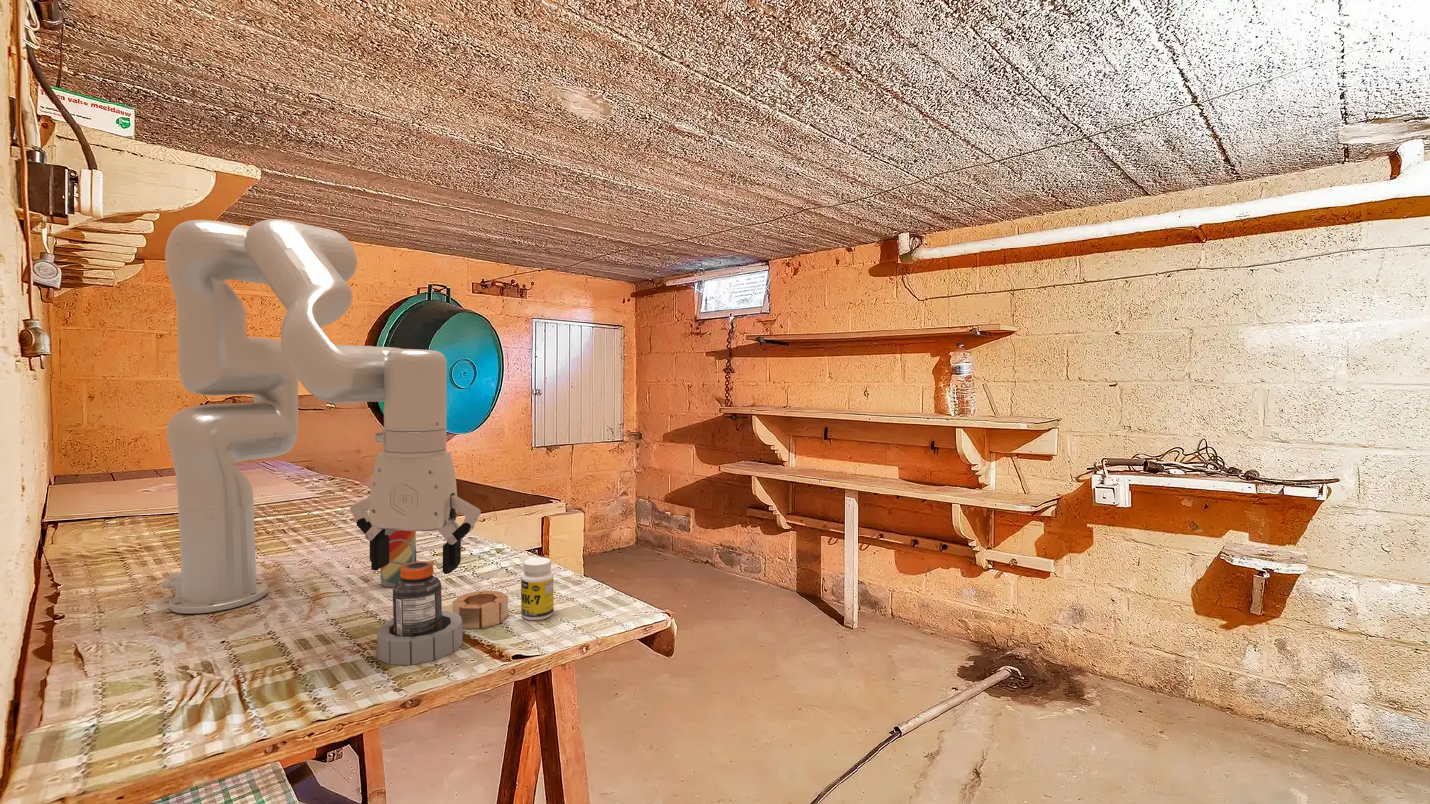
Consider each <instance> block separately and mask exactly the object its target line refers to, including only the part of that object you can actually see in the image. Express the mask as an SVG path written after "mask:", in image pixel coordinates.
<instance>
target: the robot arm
mask: <svg viewBox="0 0 1430 804" xmlns="http://www.w3.org/2000/svg"><path fill="white" fill-rule="evenodd" d="M357 258H358V257H357V252H356V250H355V248H354V246H353V244H352V243H351V241H350V240H348V238H347V237H345V236H344V234H342V233H340V232H338V231H336V230H333V229H330V228H324V227H320V226H316V225H310V224H308V223H307V224H306V223H302V222H297V221H294V220H293V221H292V220H287V219H280V218H279V219H278V218H272V219H271V218H270V219H269V218H268V219H263V220H260V221H258V222H256V223H254V224H252V225H251V226H246V225H242V224H237V223H233V222H232V223H231V222H226V221H218V220H211V219H192V220H186V221H183V222H181V223H179V224H177V225H176V226H175V227H174V228H173V229H172V230H171V232H170V234H169V236H168V238H167V242H166V245H165V251H164V261H165V268H166V273H167V275H168V279H169V282H170V285H171V288H172V291H173V294H174V295H173V296H174V299H175V302H176V310H177V316H176V317H177V321H176V322H177V356H178V357H177V359H178V360H177V361H178V365H177V366H178V374H179V379H180V383H181V384H182V386H183V388H184V389H185V390H186V391H187V392H189V393H192V394H195V395H201V396H212V397H213V396H214V397H215V396H216V397H217V396H249V395H250V396H252V398H253V402H245V403H244V402H243V403H241V402H240V403H239V402H237V403H236V402H233V403H213V404H200V405H195V406H190V407H186V408H185V409H181V410H179V411H178V412H177V413H175V414H174V415H172V417H171V418H170V419H169V421H168V422H167V426H166V433H165V434H166V440H167V445H168V448H169V452H170V456H171V459H172V463H173V469H174V474H175V482H176V491H177V492H176V493H177V511H178V512H177V513H178V531H179V535H178V536H179V554H180V555H179V556H180V558H179V559H180V572H172V573H169V574H168V576H167V579H164V580H163V581H162V582H161V585H160V586H161V589H174V590H175V594H174V595H175V596H173V597H172V598H171V599H170V600H169V602H168V607H169V610H170V611H171V612H173V613H177V614H183V615H184V614H185V615H187V614H189V615H191V614H192V615H193V614H195V615H196V614H205V613H215V612H219V611H220V612H221V611H225V610H230V609H234V608H238V607H242V606H245V605H249V604H251V603H253V602H255V601H259V600H260V599H262V598H263V597H264V596H266V595H267V594H268V592H269V588H268V587H269V586H268V585H269V584H268V583H266V582H264V581H260V580H257V566H256V564H257V563H256V537H255V536H256V535H255V531H256V530H255V509H254V506H255V505H254V503H255V501H254V492H253V491H254V490H253V487H252V484H251V482H250V480H249V479H248V477H247V476H246V475H245V474H244V473H243V472H242V471H241V470H240V469H239V467H238V466H237V463H240V462H244V461H251V460H252V461H253V460H259V459H260V460H261V459H269V458H275V457H276V458H277V457H280V456H283V455H285V454H287V453H289V452H290V451H291V450H292V449H293V448H294V446H295V445H296V442H297V439H298V434H299V382H300V384H301V385H302V386H303V387H304V388H305V390H306V391H307V392H308V393H310V394H311V395H312V396H314V397H315V398H316V399H318V400H320V401H323V402H325V403H330V404H344V403H345V404H347V403H349V404H350V403H367V402H368V403H369V402H373V403H376V402H383V429H382V431H381V432H376V434H375V435H374V440H375V442H376V443H381V444H382V449H383V451H381V452H378V453H377V455H376V458H375V461H374V466H373V469H372V470H373V471H372V477H371V483H370V494H369V496H368V497H366V498H364V499H362V500H359V501H357V502H356V503H354V504H352V505H351V506H350V507H349V510H350V512H351V514H352V516H353V518H354V520H355V521H356V526H357V527H358V529H359V530H361V532H362V533H363V534H364V538H365V539H366V541H367V542H368V541H369V561H370V563H371V564H370V565H371V567H370V569H371V571H378V570H380V568H382V567H383V566H385V565H387V564H389V537H388V535H385V532H386V531H387V530H404V531H416V532H436V531H438V533H440V535H441V536H442V537H443V539H444V540H445V543H444V544H443V545H442V573H443V574H445V575H449V574H451V573H452V572H453V571H455V570H456V569H458V567H459V565H460V564H461V560H462V556H461V554H462V550H461V549H462V540H463V539H464V538H465V536H466V535H467V534H469V533H470V532H471V531H472V530H473V529H474V527H475V524H476V522H477V521H478V519H479V517H480V516H481V513H482V510H481V509H480V507H477V506H475V505H473V504H472V503H470V502H468V501H467V500H465V499H463V498H461V497H459V496H458V489H457V477H456V471H455V470H456V469H455V466H454V462H453V457H452V454H451V451H447V410H448V409H447V406H448V405H447V400H448V399H447V395H448V393H447V391H448V388H447V386H448V385H447V382H448V381H447V377H448V376H447V374H448V372H447V371H448V369H447V367H448V366H447V364H448V363H447V357H445V356H446V355H444V354H443V353H442V352H441V351H438V350H434V349H433V350H432V349H417V348H415V349H414V348H401V347H390V346H373V345H355V344H353V345H352V344H335V343H334V342H333V341H332V340H331V339H330V338H329V337H328V336H327V334H326V333H325V331H323V329H322V328H324V327H326V326H328V325H330V324H332V323H334V322H336V321H337V320H339V319H341V318H342V317H343V316H344V315H345V314H346V313H347V311H348V310H349V309H350V307H351V305H352V301H353V292H352V289H351V287H350V286H349V284H348V283H347V282H348V281H350V279H351V278H352V277H353V275H354V274H355V272H356V270H357V264H358V262H357V261H358V259H357ZM227 280H232V281H238V282H246V283H254V284H263V285H268V286H269V288H270V289H271V291H272V292H273V294H274V295H275V296H276V298H277V299H278V300H279V301H280V303H281V304H282V305H283V307H284V308H285V309H286V313H285V314H284V317H283V320H282V322H281V326H280V327H281V328H280V340H277V339H273V338H266V337H248V335H247V315H246V312H247V311H246V309H245V305H244V304H243V301H242V300H241V298H240V297H239V296H238V294H237V293H236V291H235V290H234V289H233V288H232V287H231V285H229V284H228V282H227ZM368 511H369V512H368ZM458 512H460V514H462V515H464V520H463V522H462V524H461V525H459V524H458V523H457V522H456V520H457V516H458Z"/></svg>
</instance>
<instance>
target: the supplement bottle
mask: <svg viewBox="0 0 1430 804" xmlns="http://www.w3.org/2000/svg"><path fill="white" fill-rule="evenodd" d="M551 560H552V559H550V558H548V557H541V556H540V557H538V556H537V557H532V558H527V559H524V561H523V569H522V570H523V573H522V574H521V577H520V602H521V603H520V614H521V617H522V619H523V620H529V621H542V620H545V619H548V618H550V617H552V615H553V614H554V609H555V608H554V573H553V572H552V571H551V570H552V563H551V562H552V561H551Z"/></svg>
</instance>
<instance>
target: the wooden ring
mask: <svg viewBox="0 0 1430 804" xmlns="http://www.w3.org/2000/svg"><path fill="white" fill-rule="evenodd" d="M508 597H509V596H508V595H507V594H505V593H504V592H502V591H500V590H481V591H480V590H478V591H474V592H470V593H469V592H468V593H465V594H462V595H459V596H457V598H456V599H455V600H453V601H452V612H453V613H456V614H458V615H461V619H462V629H467V630H468V629H470V630H473V629H474V630H479V629H485V628H489V627H493V626H497V625H499V624H501V623H503V622H504V621H505V620H506V619H507V618H508V616H509V606H508V605H509V603H508V602H509V599H508Z"/></svg>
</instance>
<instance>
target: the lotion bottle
mask: <svg viewBox="0 0 1430 804" xmlns="http://www.w3.org/2000/svg"><path fill="white" fill-rule="evenodd" d="M385 535H388V537H389V564H387V565H385V566H383V567H382V568H380V569H379V571H380V572H379V574H380V584H381V586H382V587H384V588H392V589H393V587H394V586H395V584H396V583H397V582H399V581H400V580H401V577H400V568H401V566H403V565H405V564H407V563H411V562H417V536H416V535H417V531H404V530H387V531H386V532H385Z"/></svg>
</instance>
